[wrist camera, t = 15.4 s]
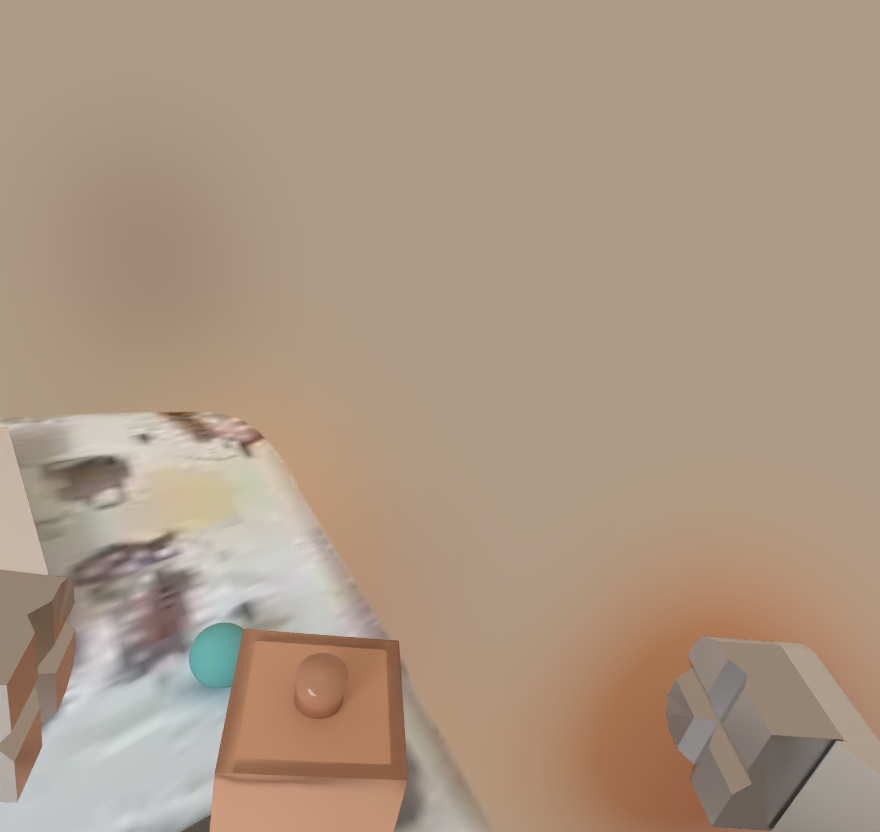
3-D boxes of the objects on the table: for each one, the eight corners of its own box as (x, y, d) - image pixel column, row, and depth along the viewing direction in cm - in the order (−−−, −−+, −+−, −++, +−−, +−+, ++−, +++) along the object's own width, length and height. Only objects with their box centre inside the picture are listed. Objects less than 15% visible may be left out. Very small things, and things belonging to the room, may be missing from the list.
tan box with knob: (196, 974, 25) (217, 744, 20) (223, 821, 30) (246, 603, 25) (354, 973, 26) (415, 753, 21) (355, 824, 31) (404, 616, 26)
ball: (177, 669, 37) (179, 623, 36) (233, 645, 39) (238, 601, 38) (205, 712, 35) (208, 666, 34) (262, 685, 37) (268, 640, 36)
